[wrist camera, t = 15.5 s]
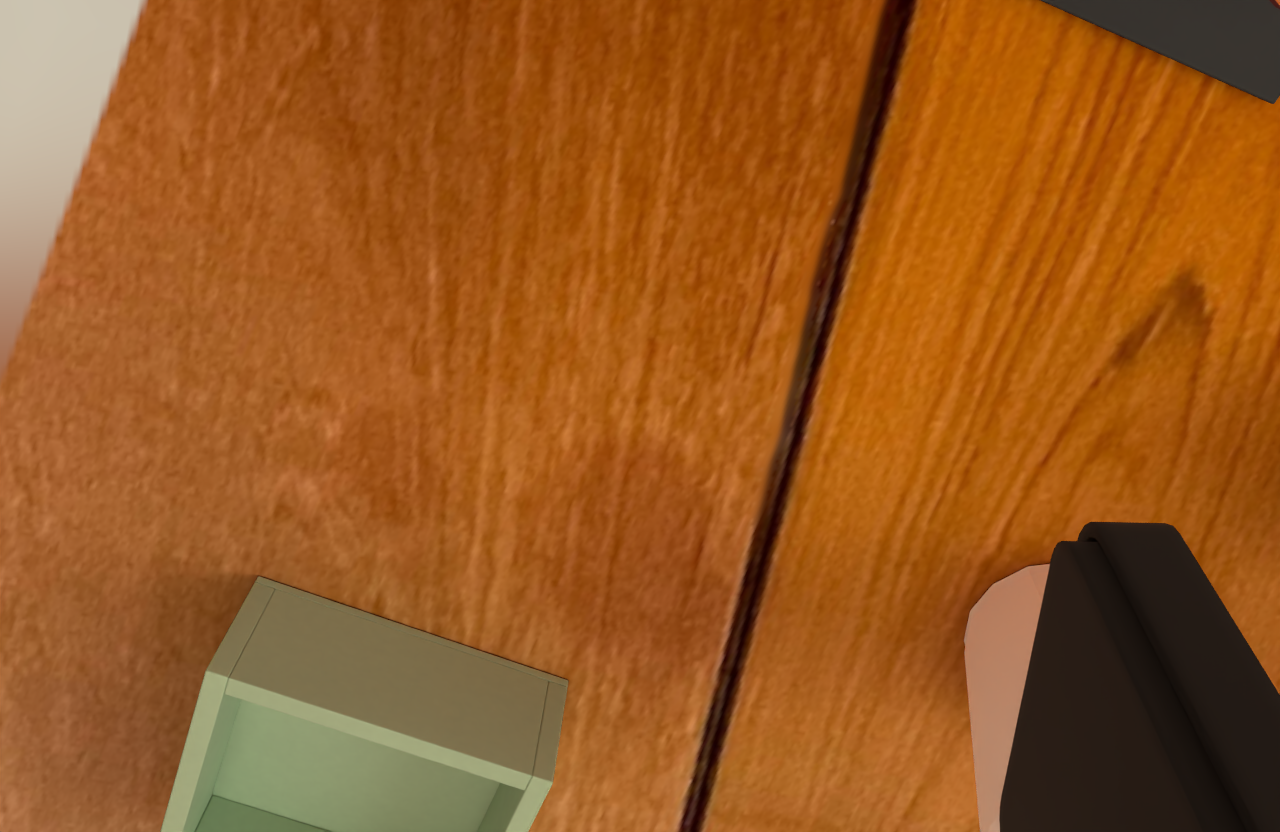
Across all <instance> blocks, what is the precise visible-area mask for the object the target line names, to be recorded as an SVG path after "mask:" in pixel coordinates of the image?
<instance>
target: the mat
mask: <svg viewBox="0 0 1280 832" xmlns="http://www.w3.org/2000/svg"><path fill="white" fill-rule="evenodd" d="M1041 1H1043V2H1045V3H1048V4H1050V5H1052V6H1054V7H1057V8H1059V9H1061V10H1063V11H1065V12H1068V13H1070V14H1072V15H1074V16H1077V17H1079V18H1081V19H1083V20H1086V21H1088V22H1090V23H1092V24H1095V25H1097V26H1099V27H1101V28H1103V29H1106V30H1108V31H1110V32H1112V33H1115V34H1117V35H1119V36H1121V37H1124V38H1126V39H1128V40H1130V41H1133V42H1135V43H1137V44H1139V45H1142V46H1144V47H1146V48H1148V49H1150V50H1153V51H1155V52H1157V53H1159V54H1162V55H1164V56H1166V57H1168V58H1171V59H1173V60H1175V61H1177V62H1180V63H1182V64H1184V65H1186V66H1188V67H1191V68H1193V69H1195V70H1197V71H1200V72H1202V73H1204V74H1206V75H1209V76H1211V77H1213V78H1215V79H1218V80H1220V81H1222V82H1224V83H1226V84H1229V85H1231V86H1233V87H1235V88H1238V89H1240V90H1242V91H1244V92H1247V93H1249V94H1251V95H1253V96H1256V97H1258V98H1260V99H1262V100H1264V101H1267V102H1269V103H1271V104H1274V103H1275V102H1276V100H1277V99H1278V97H1279V96H1280V9H1278V8H1276V7H1275V6H1274V5H1273V4H1272V3H1271V2H1270V0H1041Z"/></svg>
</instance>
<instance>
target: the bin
mask: <svg viewBox="0 0 1280 832" xmlns="http://www.w3.org/2000/svg"><path fill="white" fill-rule="evenodd" d="M567 687H568V680H565V679H563V678H560V677H557V676H554V675H551V674H548V673H545V672H542V671H539V670H536V669H533V668H530V667H527V666H524V665H521V664H518V663H515V662H512V661H509V660H506V659H503V658H500V657H497V656H494V655H491V654H488V653H485V652H482V651H479V650H476V649H473V648H471V647H468V646H465V645H462V644H459V643H456V642H453V641H450V640H447V639H444V638H441V637H438V636H435V635H432V634H429V633H426V632H423V631H420V630H417V629H414V628H411V627H408V626H405V625H402V624H399V623H396V622H393V621H390V620H387V619H384V618H381V617H378V616H376V615H373V614H370V613H367V612H364V611H361V610H358V609H355V608H352V607H349V606H346V605H343V604H340V603H337V602H334V601H331V600H328V599H325V598H322V597H319V596H316V595H313V594H310V593H307V592H304V591H301V590H298V589H295V588H292V587H289V586H286V585H284V584H281V583H278V582H275V581H272V580H269V579H266V578H263V577H260V576H258V577H257V579H256V581H255V583H254V584H253V586H252V588H251V590H250V592H249V593H248V595H247V597H246V599H245V601H244V602H243V604H242V606H241V608H240V610H239V611H238V613H237V615H236V617H235V619H234V620H233V622H232V624H231V626H230V628H229V629H228V631H227V633H226V635H225V637H224V638H223V640H222V642H221V644H220V646H219V647H218V649H217V651H216V653H215V655H214V657H213V658H212V660H211V662H210V664H209V666H208V667H207V669H206V671H205V675H204V678H203V682H202V685H201V689H200V693H199V696H198V700H197V703H196V707H195V710H194V714H193V717H192V721H191V724H190V728H189V732H188V735H187V739H186V742H185V746H184V749H183V753H182V756H181V760H180V764H179V767H178V771H177V774H176V778H175V781H174V785H173V788H172V792H171V796H170V799H169V803H168V806H167V810H166V813H165V817H164V820H163V824H162V827H161V831H160V832H528V831H529V829H530V827H531V825H532V823H533V821H534V819H535V817H536V815H537V813H538V811H539V809H540V807H541V805H542V803H543V801H544V799H545V798H546V796H547V794H548V792H549V790H550V788H551V786H552V784H553V779H554V772H555V766H556V759H557V752H558V746H559V739H560V733H561V726H562V720H563V713H564V706H565V700H566V693H567Z"/></svg>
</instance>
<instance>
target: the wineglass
mask: <svg viewBox="0 0 1280 832" xmlns="http://www.w3.org/2000/svg"><path fill="white" fill-rule="evenodd" d="M1270 2H1271V3H1272V4H1273V5H1274V6H1275V7H1276V8H1278V9H1280V0H1270Z"/></svg>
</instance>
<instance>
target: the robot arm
mask: <svg viewBox="0 0 1280 832" xmlns="http://www.w3.org/2000/svg"><path fill="white" fill-rule="evenodd" d="M999 822H1000V832H1280V695H1279V693H1278V692H1277V690H1276V688H1275V687H1274V685H1273V684H1272V682H1271V680H1270V679H1269V677H1268V675H1267V674H1266V672H1265V671H1264V669H1263V667H1262V666H1261V664H1260V662H1259V661H1258V659H1257V658H1256V656H1255V654H1254V653H1253V651H1252V650H1251V648H1250V646H1249V645H1248V643H1247V641H1246V640H1245V638H1244V637H1243V635H1242V633H1241V632H1240V630H1239V629H1238V627H1237V625H1236V624H1235V622H1234V620H1233V619H1232V617H1231V616H1230V614H1229V612H1228V611H1227V609H1226V607H1225V606H1224V604H1223V603H1222V601H1221V599H1220V598H1219V596H1218V595H1217V593H1216V591H1215V590H1214V588H1213V586H1212V585H1211V583H1210V582H1209V580H1208V578H1207V577H1206V575H1205V574H1204V572H1203V570H1202V569H1201V567H1200V565H1199V564H1198V562H1197V561H1196V559H1195V557H1194V556H1193V554H1192V553H1191V551H1190V549H1189V548H1188V546H1187V544H1186V543H1185V541H1184V540H1183V538H1182V536H1181V535H1180V533H1179V532H1178V531H1177V530H1176V529H1175V528H1174V527H1173V526H1172V525H1169V524H1166V523H1122V522H1090V523H1088V524H1086V525H1085V526H1084V527H1083V529H1082V530H1081V532H1080V534H1079V537H1078V540H1077V541H1061V542H1059V543H1057V545H1056V547H1055V548H1054V551H1053V554H1052V557H1051V562H1050V566H1049V571H1048V576H1047V581H1046V585H1045V590H1044V595H1043V600H1042V605H1041V609H1040V614H1039V619H1038V624H1037V628H1036V633H1035V638H1034V643H1033V648H1032V652H1031V657H1030V662H1029V667H1028V671H1027V676H1026V681H1025V686H1024V691H1023V695H1022V700H1021V705H1020V710H1019V714H1018V719H1017V724H1016V729H1015V733H1014V738H1013V743H1012V748H1011V753H1010V757H1009V762H1008V767H1007V772H1006V776H1005V781H1004V786H1003V791H1002V796H1001V802H1000V814H999Z"/></svg>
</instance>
